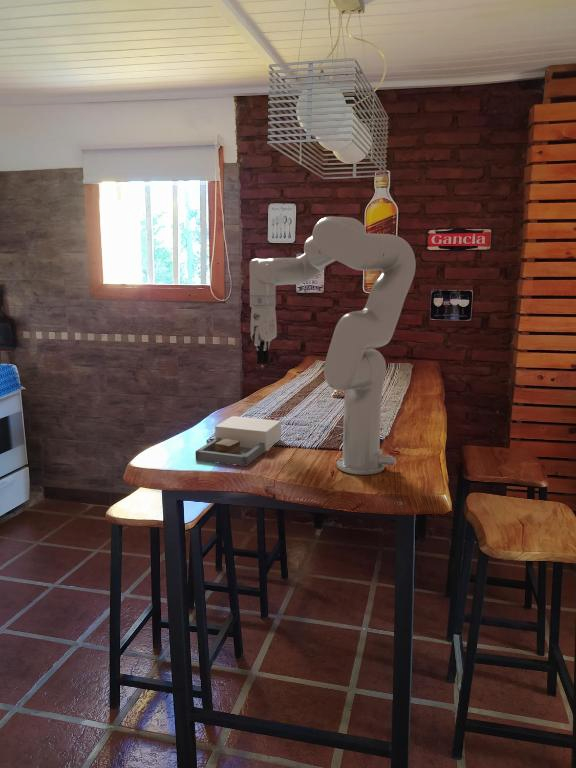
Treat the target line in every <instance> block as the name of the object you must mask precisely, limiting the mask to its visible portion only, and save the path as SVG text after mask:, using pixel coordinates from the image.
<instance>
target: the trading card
mask: <svg viewBox="0 0 576 768" xmlns="http://www.w3.org/2000/svg"><path fill="white" fill-rule="evenodd" d="M324 425H325V426H328V427H329V426H331V427H336V428H341V429H343V426H339V425H333V424H326V423H322V424H321V425H317V426H315V427H313V428H311V429H308V430H306V431H305V432H306V433H308V432H310V431H313V430H314V428H315V429H317V428H319V427H321V426H324ZM312 429H313V430H312ZM307 431H308V432H307ZM305 432H302V433H300V434H299V435H300V436H301V434H302V435H304V434H306V433H305ZM303 433H304V434H303ZM338 435H340V436H341V435H343V432H342V433H340V434H338ZM338 435H336V436H338ZM338 437H339V436H338Z"/></svg>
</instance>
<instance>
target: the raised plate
mask: <svg viewBox="0 0 576 768" xmlns="http://www.w3.org/2000/svg"><path fill="white" fill-rule="evenodd" d="M214 430H215V431H214V434H215V436H214V437H215V438H214V439H216V438H220V439H221V440H223V439H230V440H235V441H240V447H244V448H254V447H256V446H257V445H258V444H260V443H265V452H264V453H267V452H268V451H270V450H271V449H272V448H273V447H274V446H275V445H274V443H276V442H277V441H278V440H280V439H281V440H282V421H281V420H275V419H265V418H256V417H244V416H235V415H232V416H230V417H229V418H226V419H225V420H224V421H221V422H220V423H218V424H216V425H214ZM281 440H280V441H281ZM273 445H274V446H273ZM272 446H273V447H272ZM271 447H272V448H271ZM270 448H271V449H270ZM266 451H267V452H266Z"/></svg>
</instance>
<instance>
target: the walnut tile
mask: <svg viewBox="0 0 576 768" xmlns="http://www.w3.org/2000/svg"><path fill="white" fill-rule="evenodd" d="M215 452H219V453H227V454H236V453H238V452H240V441H235V440H230V439H223V440H221V441H219V442H217V443H215Z"/></svg>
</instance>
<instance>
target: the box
mask: <svg viewBox="0 0 576 768" xmlns="http://www.w3.org/2000/svg"><path fill="white" fill-rule="evenodd" d="M219 441H221V439H220V438H216V439H215V438H214V439H212V440H211V441H209V442H208V443H206V444H205V445H203V446H201V447H200V448H198V449H196V450H195V461H198V462H207V463H213V462H219V463H218V464H221V463H229V464H236V465H243V466H242V467H244V466H247V465H248V464H249V463H250V462H252V461H253V460H254V459H255V460H257V457H258V456H259V457H260V456H262V455H263V454H264V453H266V452H265V443H260V444H258V445H257V446H256V447H254V448H244V447H240V452H238V453H236V454H227V453H219V452H215V443H217V442H219ZM262 453H263V454H262ZM259 457H258V458H259ZM255 460H254V461H255ZM254 461H253V462H254ZM253 462H252V463H253ZM229 464H228V465H229ZM250 464H251V463H250ZM250 464H249V465H250ZM236 465H235V466H236ZM249 465H248V466H249ZM248 466H247V467H248Z"/></svg>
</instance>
